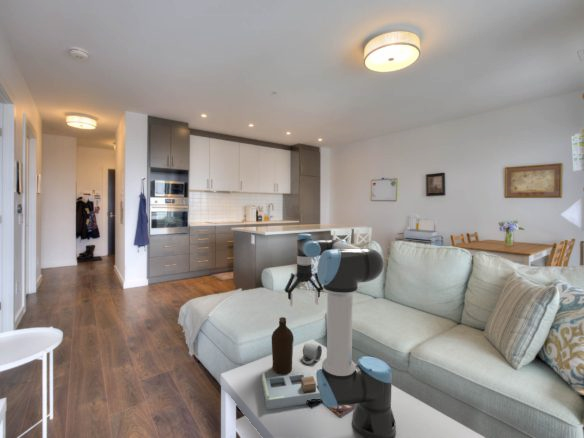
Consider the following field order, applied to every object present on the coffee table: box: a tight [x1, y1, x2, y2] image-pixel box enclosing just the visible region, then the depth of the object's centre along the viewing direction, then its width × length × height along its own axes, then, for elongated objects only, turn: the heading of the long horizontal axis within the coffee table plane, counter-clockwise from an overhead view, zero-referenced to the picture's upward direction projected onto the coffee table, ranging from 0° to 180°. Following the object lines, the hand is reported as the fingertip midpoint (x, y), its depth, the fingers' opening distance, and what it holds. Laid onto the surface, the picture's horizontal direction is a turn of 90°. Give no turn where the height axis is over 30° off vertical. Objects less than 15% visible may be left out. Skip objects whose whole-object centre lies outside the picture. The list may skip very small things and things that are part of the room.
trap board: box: [261, 371, 322, 411], centre depth 120 cm, size 16×22×6 cm
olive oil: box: [271, 316, 294, 375], centre depth 137 cm, size 11×11×25 cm
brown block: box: [301, 375, 317, 394], centre depth 118 cm, size 5×5×4 cm
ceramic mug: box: [302, 342, 323, 365], centre depth 145 cm, size 11×8×8 cm
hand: (303, 304), depth 146 cm, fingers open, 13 cm apart
